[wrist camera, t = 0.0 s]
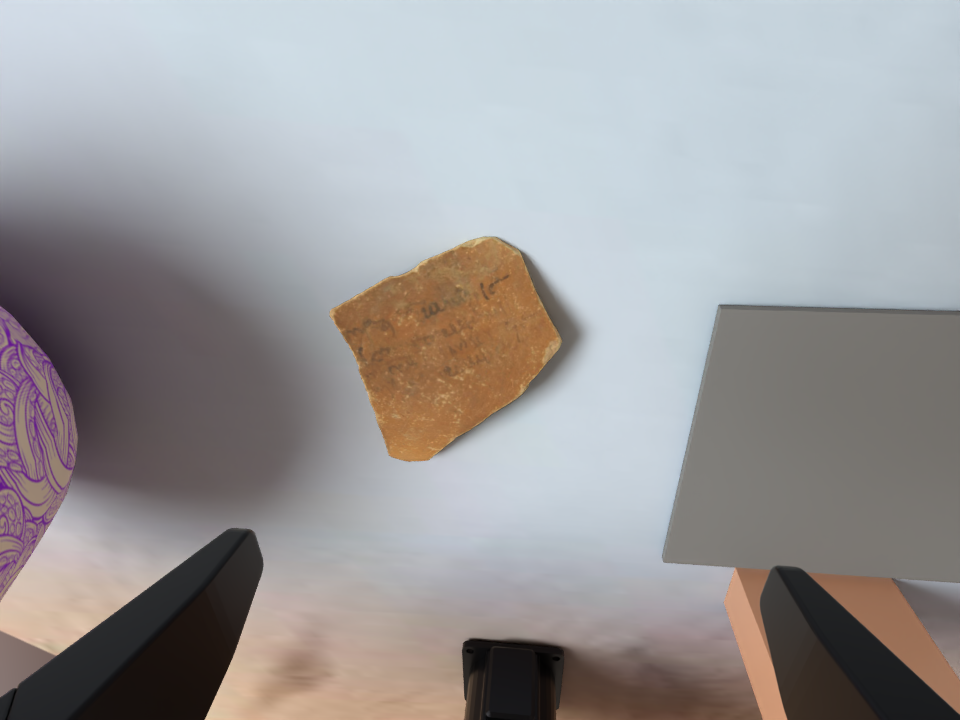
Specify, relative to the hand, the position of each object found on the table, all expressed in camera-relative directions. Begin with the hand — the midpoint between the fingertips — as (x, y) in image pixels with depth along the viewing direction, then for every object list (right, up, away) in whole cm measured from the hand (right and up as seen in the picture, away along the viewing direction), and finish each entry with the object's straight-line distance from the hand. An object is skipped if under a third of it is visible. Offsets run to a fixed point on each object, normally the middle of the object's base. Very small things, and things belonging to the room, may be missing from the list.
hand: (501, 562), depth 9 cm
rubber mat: (+18, -1, +16) cm, 23 cm away
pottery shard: (-1, +4, +16) cm, 16 cm away
